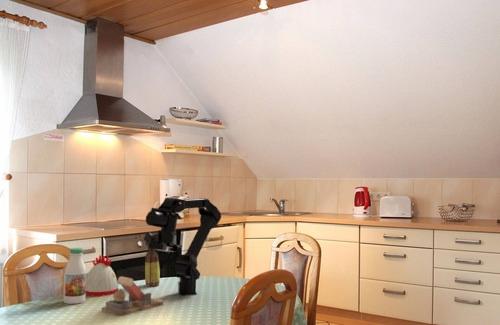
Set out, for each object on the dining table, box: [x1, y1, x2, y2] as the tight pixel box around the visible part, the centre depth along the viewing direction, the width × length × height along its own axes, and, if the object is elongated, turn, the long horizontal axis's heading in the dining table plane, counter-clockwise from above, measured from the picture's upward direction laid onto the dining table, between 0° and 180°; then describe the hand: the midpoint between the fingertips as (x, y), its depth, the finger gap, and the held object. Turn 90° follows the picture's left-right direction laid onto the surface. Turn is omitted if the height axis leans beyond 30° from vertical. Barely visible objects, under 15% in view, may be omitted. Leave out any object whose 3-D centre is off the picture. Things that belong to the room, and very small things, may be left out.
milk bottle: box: [62, 247, 87, 305], centre depth 176 cm, size 8×8×20 cm
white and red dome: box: [85, 254, 119, 297], centre depth 192 cm, size 14×14×15 cm
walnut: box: [113, 289, 126, 302], centre depth 164 cm, size 4×4×4 cm
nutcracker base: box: [101, 292, 164, 317], centre depth 169 cm, size 20×10×5 cm, turn 145°
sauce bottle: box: [144, 248, 161, 287], centre depth 206 cm, size 7×6×20 cm
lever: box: [117, 276, 145, 302], centre depth 169 cm, size 3×5×12 cm
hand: (161, 269), depth 181 cm, fingers closed
